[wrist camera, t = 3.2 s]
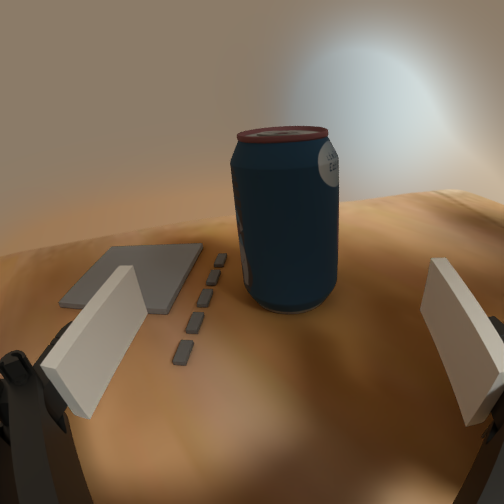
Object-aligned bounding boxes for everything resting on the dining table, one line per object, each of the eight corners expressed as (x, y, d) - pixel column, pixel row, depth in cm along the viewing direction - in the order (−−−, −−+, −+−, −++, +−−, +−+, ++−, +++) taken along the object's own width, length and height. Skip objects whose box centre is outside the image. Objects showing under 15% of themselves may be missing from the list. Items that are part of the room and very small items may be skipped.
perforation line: (227, 256, 31) (226, 253, 31) (185, 365, 18) (184, 362, 18) (218, 256, 31) (218, 253, 31) (173, 364, 19) (172, 361, 18)
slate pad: (203, 247, 33) (202, 243, 33) (167, 314, 23) (165, 308, 23) (112, 250, 35) (111, 246, 34) (60, 306, 25) (58, 302, 25)
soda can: (353, 289, 24) (359, 128, 19) (291, 334, 20) (282, 140, 15) (290, 260, 29) (282, 123, 24) (227, 293, 25) (205, 136, 20)
